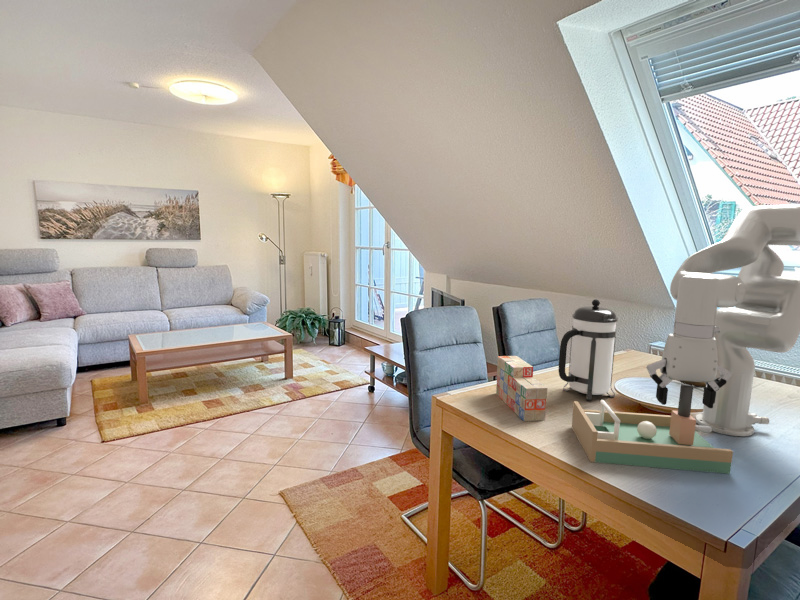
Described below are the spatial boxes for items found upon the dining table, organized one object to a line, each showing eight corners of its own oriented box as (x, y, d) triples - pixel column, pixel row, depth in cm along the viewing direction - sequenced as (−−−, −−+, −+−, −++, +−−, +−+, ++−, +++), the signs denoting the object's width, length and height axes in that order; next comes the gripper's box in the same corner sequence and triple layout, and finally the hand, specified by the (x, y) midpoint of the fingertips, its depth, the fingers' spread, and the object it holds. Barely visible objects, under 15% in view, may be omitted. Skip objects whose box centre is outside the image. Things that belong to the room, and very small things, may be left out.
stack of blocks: (545, 421, 119) (548, 376, 117) (523, 422, 118) (526, 377, 117) (514, 392, 140) (516, 354, 138) (495, 393, 139) (497, 355, 138)
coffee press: (562, 382, 151) (568, 294, 146) (614, 390, 144) (623, 298, 139) (556, 399, 135) (563, 301, 131) (614, 408, 128) (623, 305, 124)
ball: (651, 435, 106) (653, 419, 105) (658, 442, 102) (660, 426, 101) (633, 433, 106) (635, 417, 106) (640, 441, 102) (641, 424, 102)
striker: (704, 437, 105) (711, 383, 103) (715, 447, 100) (723, 391, 98) (669, 434, 106) (674, 381, 104) (678, 444, 101) (685, 388, 99)
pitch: (688, 435, 111) (692, 401, 110) (730, 473, 94) (735, 433, 92) (571, 426, 115) (574, 393, 114) (590, 461, 98) (593, 422, 96)
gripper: (726, 329, 102) (716, 401, 104) (645, 325, 104) (637, 395, 106) (746, 336, 94) (735, 413, 97) (658, 331, 97) (650, 407, 99)
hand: (684, 404), depth 102 cm, fingers open, 9 cm apart
